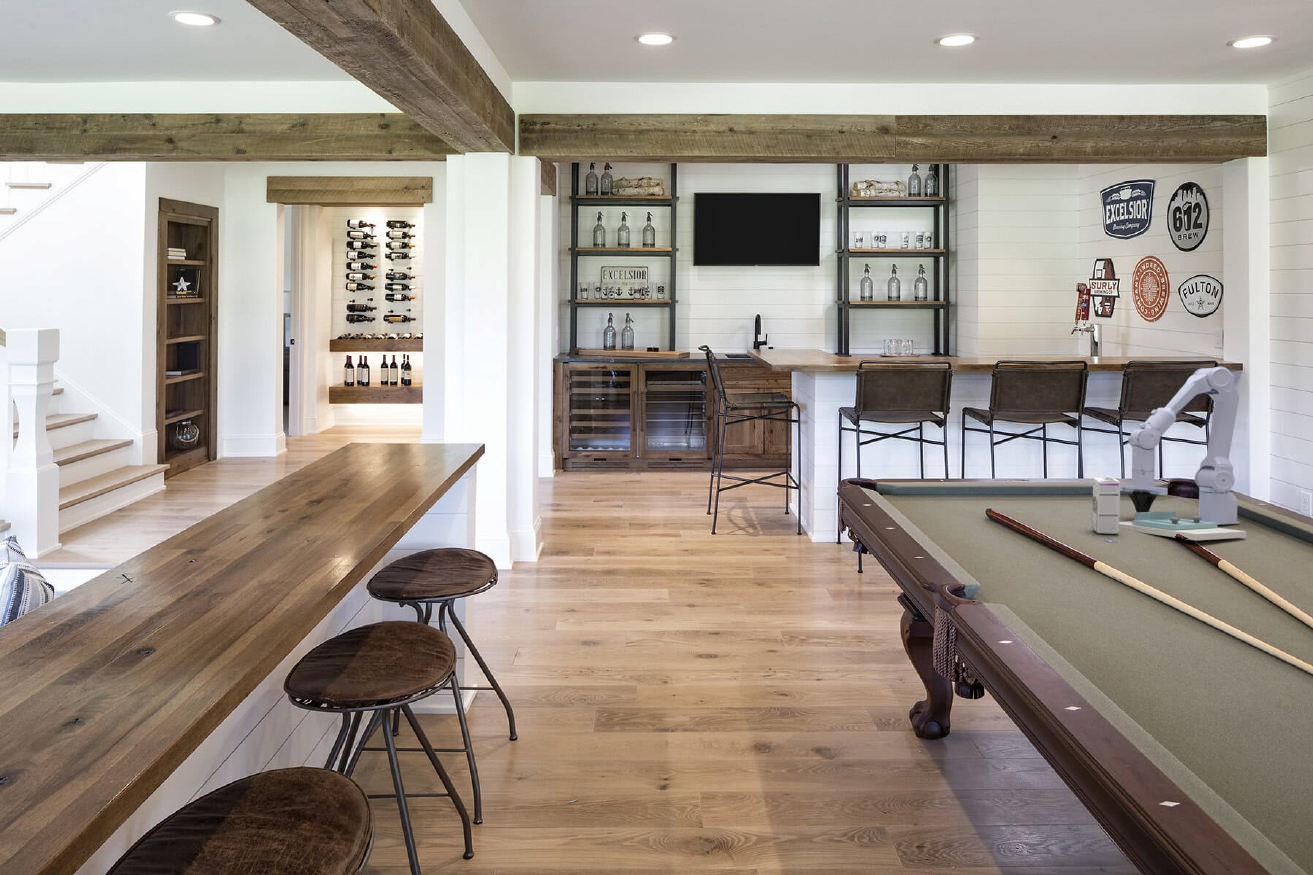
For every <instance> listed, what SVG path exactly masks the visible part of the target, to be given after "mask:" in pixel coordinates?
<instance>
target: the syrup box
mask: <svg viewBox="0 0 1313 875" xmlns="http://www.w3.org/2000/svg"><path fill="white" fill-rule="evenodd" d="M1092 483H1093V485H1092V512H1091V513H1092V514H1091V516H1092V517H1091V529H1092V530H1093V531H1095V533H1097V534H1110V535H1111V534H1113V535H1114V534H1116V535H1118V534H1119V531H1120V527H1119V522H1120V506H1121V503H1120V502H1121V491H1120V484H1121V481H1119V480H1118V479H1116V478H1115V477H1107V476H1106V477H1105V476H1104V477H1093V482H1092Z"/></svg>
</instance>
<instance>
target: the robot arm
mask: <svg viewBox="0 0 1313 875" xmlns="http://www.w3.org/2000/svg"><path fill="white" fill-rule="evenodd" d="M1235 379H1236V376H1235V374H1233V373H1232V371H1230V370H1229V369H1228V368H1227V367H1224V366H1216V367H1210V368H1209V367H1208V368H1207V367H1206V368H1205V367H1203V368H1202V367H1201V368H1198V369H1197V370H1195V371H1194V373H1193V374H1192V375H1191V376H1189V377H1188V378H1187V380H1186V381H1185V383H1184V384H1183V386H1182V387H1181V388H1179V390H1178V392H1177V393H1175V395H1174V396H1173V397H1172V398H1171V400H1170V401H1169V402H1168V403H1167V404H1166V405H1165V407H1158V408H1157V409H1152V411H1151V412H1150V413H1151V415H1149V417H1148V418H1147V419H1146V420H1145V422H1141V423H1140V424H1139V428H1135V429H1134V430H1133V431H1132V432H1131V433H1130V437H1128V438H1127V440H1128V443H1129V445H1130V446H1131V448H1132V452H1131V455H1132V456H1131V484H1124V483H1123V484H1122V483H1120V492H1128V493H1129V494H1128V496H1129V498H1130V500H1131V502H1132V503H1133V506H1134V509H1135V511H1136V512H1135V513H1142V512H1150V510H1151V508H1152V505H1153V503H1154V502H1155V500H1156V499H1157V495H1160V496H1167V495H1168V493H1169V492H1168V487H1161V486H1155V476H1156V475H1155V473H1156V472H1155V471H1156V470H1155V469H1156V468H1155V464H1156V463H1155V462H1156V447H1157V446H1159V445H1160V440H1161V437H1162V436H1163V435H1164V434H1165V433H1166V432H1167V431H1168V430H1169V429H1170V428H1171V427H1172V425H1174V424H1175V422H1176V421H1177V419H1176V418H1177V416H1176V415H1177V414H1178V413H1179V412H1180V411H1181V410H1182V409H1183V408H1184V407H1185V406H1187V404H1188V403H1190V401H1192V400H1193V399H1194V398H1195V397H1196V396H1197V395H1199V394H1204V393H1205V394H1207V395H1208V396H1209V397H1210V398H1211V399H1212V401H1214V402H1215V404H1214V410H1213V416H1212V422H1211V427H1210V434H1209V439H1208V445H1207V451H1206V456H1205V458H1204V459H1202V461H1201V462H1200V464H1199V468H1198V470H1196V473H1195V474H1194V482H1195V484H1196V485H1197V487H1198V489H1199V491H1198V494H1199V495H1198V516H1201V517H1202V520H1200V521H1203V522H1212V523H1217V526H1218V525H1233V524H1234V525H1235V524H1236V525H1237V524H1240V523H1241V522H1240V521H1238V499H1237V497H1236V495H1235V494H1234V493H1233V492H1230V490H1231V489H1232V488H1233V486H1234V484H1235V476H1234V473H1233V470H1234V465H1233V463H1232V462H1231V461H1230V458H1229V457H1230V454H1231V453H1230V452H1231V447H1232V441H1233V435H1234V430H1235V424H1236V417H1237V413H1238V406H1239V399H1240V396H1239V392H1238V390H1237V386H1236V384H1235Z"/></svg>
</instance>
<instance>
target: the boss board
mask: <svg viewBox="0 0 1313 875" xmlns="http://www.w3.org/2000/svg"><path fill="white" fill-rule="evenodd" d="M1180 519H1181V517H1178V516H1176V517H1170V520H1171V521H1172V524H1175V525H1176V524H1178V521H1180ZM1190 520H1194V523H1200V520H1202V517H1201V516H1199V515H1191V519H1190ZM1119 528H1121V529H1125V530H1129V531H1134V532H1138V533H1143V534H1149V535H1156V536H1164V537H1168V538H1169V537H1171V538H1176V537H1175V536H1176V534H1180V535H1182V536H1184V537H1187V538H1188V539H1187V540H1190V541H1206V540H1207V541H1211V540H1223V539H1224V540H1225V539H1226V540H1227V539H1243V538H1245V539H1246V538H1247V531H1246V530H1238V529H1231V528H1223V527H1217V528H1201V529H1183V530H1170V529H1162V528H1155V527H1148V526H1140V525H1133V524H1132V520H1130V521H1119Z"/></svg>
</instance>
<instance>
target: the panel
mask: <svg viewBox="0 0 1313 875" xmlns="http://www.w3.org/2000/svg"><path fill="white" fill-rule="evenodd" d="M1176 514H1177V513H1176V511H1175V510H1170V511H1169V510H1167V511H1149V512H1142V513H1137V512H1135V516H1134V519H1133V520H1131V521H1132V524H1133V525H1140V526H1148V527H1155V528H1162V529H1170V530H1183V529H1201V528H1218V525H1217V523H1212V522H1203V521H1200V523H1194V520H1193V519H1187V518H1180V521H1178V524H1176V525H1175V524H1172V521H1171V520H1170V517H1177V516H1176Z"/></svg>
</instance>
